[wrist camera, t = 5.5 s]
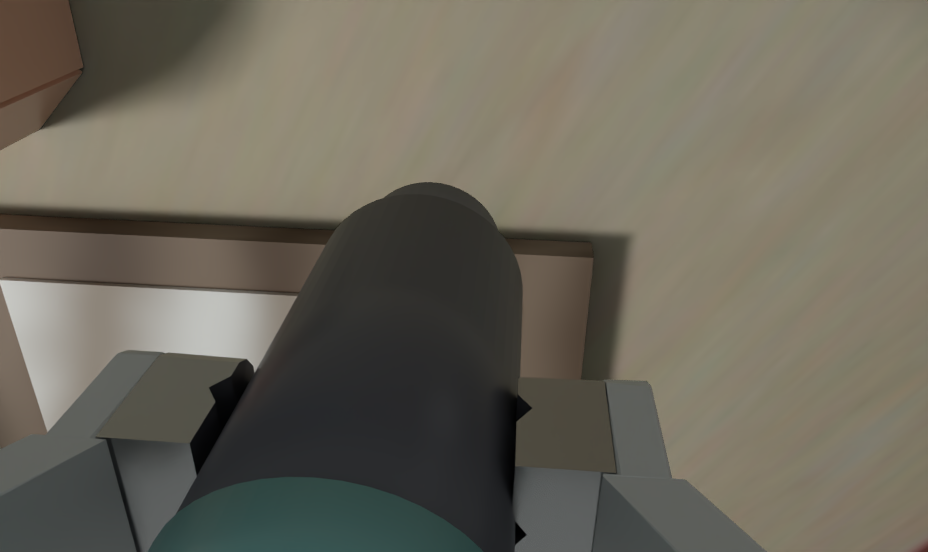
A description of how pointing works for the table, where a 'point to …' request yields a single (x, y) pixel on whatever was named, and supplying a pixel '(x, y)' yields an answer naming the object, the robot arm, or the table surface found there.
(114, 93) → the table surface
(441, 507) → the marker
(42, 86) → the pen pot
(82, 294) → the brown picture frame
